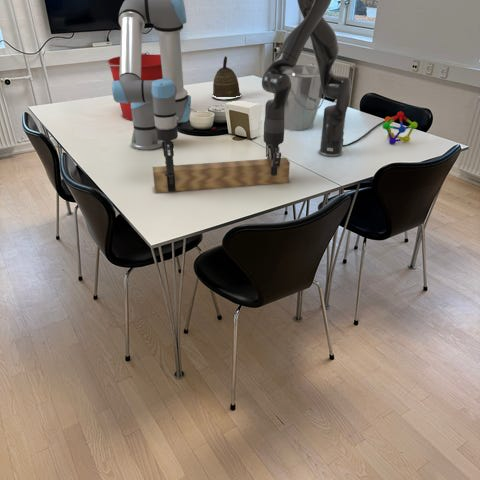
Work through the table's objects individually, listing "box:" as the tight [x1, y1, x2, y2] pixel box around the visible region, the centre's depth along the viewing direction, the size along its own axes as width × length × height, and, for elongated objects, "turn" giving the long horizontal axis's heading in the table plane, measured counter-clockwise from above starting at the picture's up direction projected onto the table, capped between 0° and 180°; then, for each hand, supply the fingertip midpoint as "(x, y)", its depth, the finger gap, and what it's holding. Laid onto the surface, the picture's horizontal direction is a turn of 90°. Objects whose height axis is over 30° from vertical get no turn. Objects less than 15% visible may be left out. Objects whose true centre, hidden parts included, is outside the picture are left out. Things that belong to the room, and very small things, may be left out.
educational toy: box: [382, 110, 418, 145], centre depth 207 cm, size 16×13×15 cm
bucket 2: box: [272, 63, 325, 131], centre depth 226 cm, size 30×30×28 cm
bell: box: [212, 56, 242, 97], centre depth 278 cm, size 19×26×20 cm
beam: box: [152, 157, 291, 194], centre depth 168 cm, size 51×5×8 cm, turn 101°
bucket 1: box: [104, 51, 163, 121], centre depth 240 cm, size 35×35×30 cm
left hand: (171, 187), depth 166 cm, fingers closed on beam, 5 cm apart
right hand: (272, 172), depth 171 cm, fingers closed on beam, 5 cm apart
